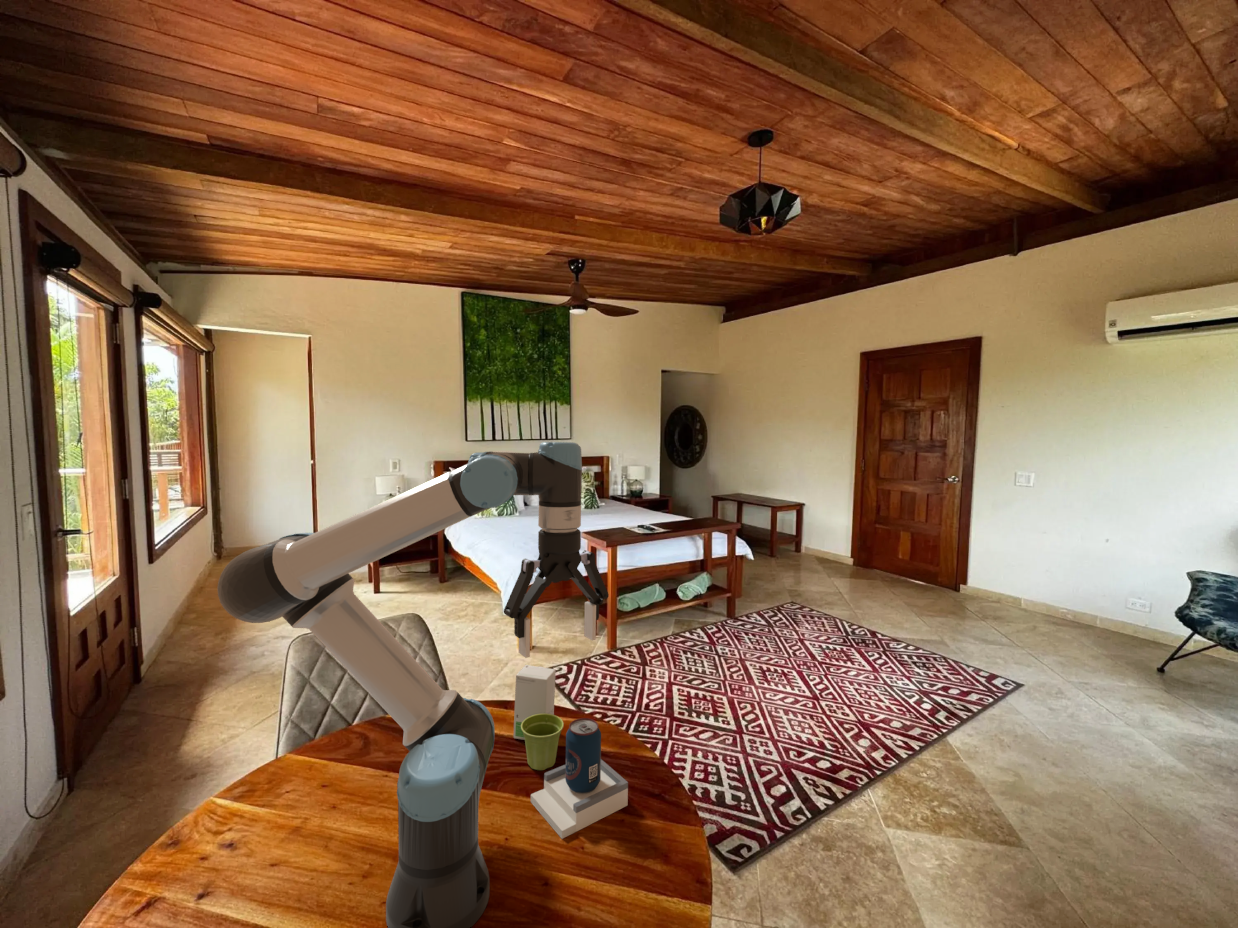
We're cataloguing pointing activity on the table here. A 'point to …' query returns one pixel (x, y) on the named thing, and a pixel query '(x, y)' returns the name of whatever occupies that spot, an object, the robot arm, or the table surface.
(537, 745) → the plant pot
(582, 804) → the dock
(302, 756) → the table surface
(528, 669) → the skincare box
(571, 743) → the soda can
